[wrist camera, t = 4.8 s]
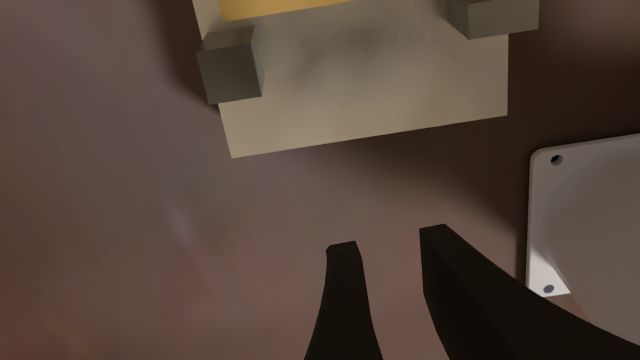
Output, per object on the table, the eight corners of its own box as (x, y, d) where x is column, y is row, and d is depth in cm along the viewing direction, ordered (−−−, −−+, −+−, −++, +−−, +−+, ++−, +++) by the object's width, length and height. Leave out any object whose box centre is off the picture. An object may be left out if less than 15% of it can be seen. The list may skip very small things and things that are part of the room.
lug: (255, 25, 18) (250, 43, 15) (264, 73, 18) (261, 96, 16) (206, 33, 18) (195, 52, 15) (218, 80, 18) (208, 105, 16)
